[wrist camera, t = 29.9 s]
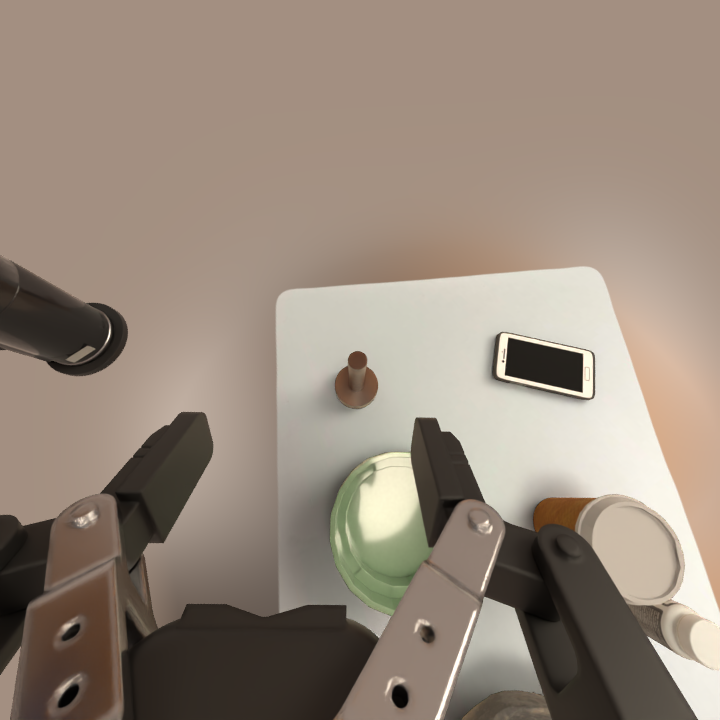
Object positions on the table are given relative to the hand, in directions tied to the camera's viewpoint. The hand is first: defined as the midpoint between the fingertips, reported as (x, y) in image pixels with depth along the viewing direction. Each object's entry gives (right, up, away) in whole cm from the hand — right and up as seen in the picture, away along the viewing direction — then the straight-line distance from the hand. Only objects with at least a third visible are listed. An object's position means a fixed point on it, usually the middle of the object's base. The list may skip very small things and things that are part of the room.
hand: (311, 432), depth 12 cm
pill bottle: (+36, -27, +26) cm, 52 cm away
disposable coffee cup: (+28, -19, +28) cm, 44 cm away
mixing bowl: (+7, -18, +28) cm, 34 cm away
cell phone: (+30, +2, +35) cm, 46 cm away
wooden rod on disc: (+1, -1, +33) cm, 33 cm away
